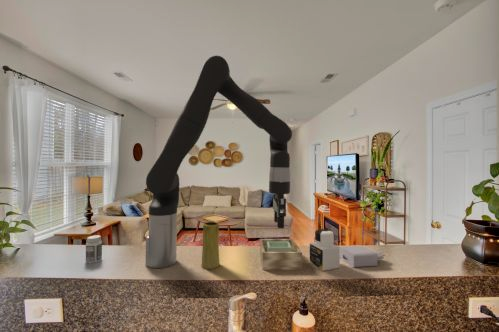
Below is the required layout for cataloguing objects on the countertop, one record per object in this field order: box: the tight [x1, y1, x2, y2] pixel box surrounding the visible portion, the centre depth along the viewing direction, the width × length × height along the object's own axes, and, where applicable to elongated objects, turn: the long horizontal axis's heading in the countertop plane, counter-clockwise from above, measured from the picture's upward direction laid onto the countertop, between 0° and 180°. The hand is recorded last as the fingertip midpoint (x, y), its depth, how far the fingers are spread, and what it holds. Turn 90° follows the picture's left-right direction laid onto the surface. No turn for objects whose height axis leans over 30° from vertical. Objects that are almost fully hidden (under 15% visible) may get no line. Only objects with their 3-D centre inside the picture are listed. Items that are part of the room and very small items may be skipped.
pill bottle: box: [85, 234, 103, 264], centre depth 79 cm, size 5×5×8 cm
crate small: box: [267, 242, 292, 252], centre depth 81 cm, size 8×6×5 cm
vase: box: [201, 221, 220, 270], centre depth 76 cm, size 6×6×14 cm
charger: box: [338, 244, 386, 268], centre depth 81 cm, size 5×9×15 cm
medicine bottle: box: [309, 228, 341, 272], centre depth 77 cm, size 7×7×12 cm
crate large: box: [259, 238, 303, 271], centre depth 81 cm, size 13×15×6 cm
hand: (278, 225), depth 81 cm, fingers open, 8 cm apart
